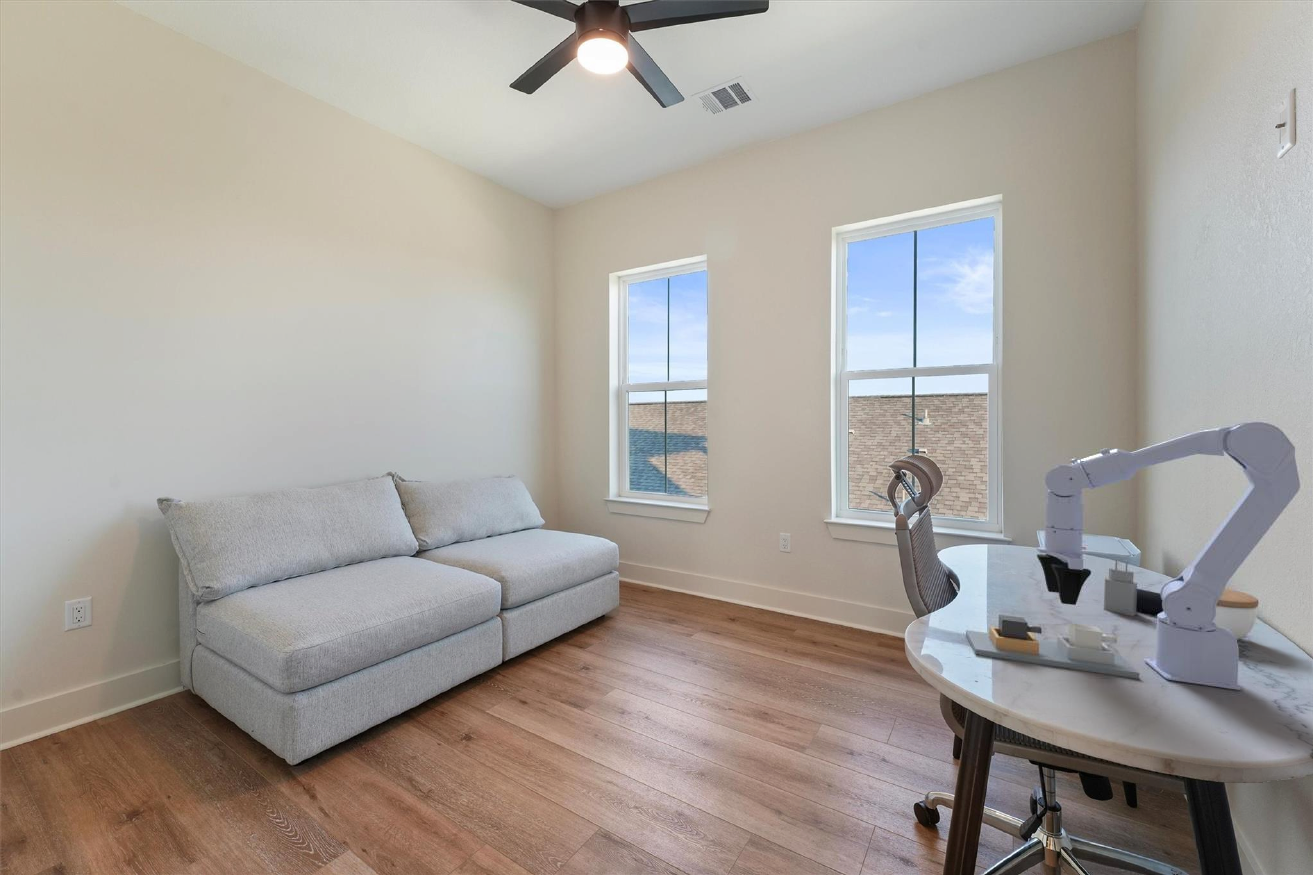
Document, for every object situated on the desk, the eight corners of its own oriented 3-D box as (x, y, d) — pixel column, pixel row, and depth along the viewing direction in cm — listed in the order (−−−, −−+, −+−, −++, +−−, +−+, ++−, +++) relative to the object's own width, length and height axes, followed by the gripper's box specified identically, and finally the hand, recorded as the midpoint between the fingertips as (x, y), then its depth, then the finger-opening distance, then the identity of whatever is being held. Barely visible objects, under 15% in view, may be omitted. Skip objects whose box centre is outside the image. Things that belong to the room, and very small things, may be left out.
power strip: (1113, 655, 99) (1114, 623, 99) (1139, 678, 90) (1140, 643, 90) (965, 634, 108) (966, 605, 108) (975, 654, 99) (976, 622, 98)
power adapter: (1132, 616, 121) (1134, 563, 120) (1102, 609, 125) (1104, 558, 125) (1137, 613, 122) (1139, 561, 122) (1107, 606, 127) (1108, 556, 127)
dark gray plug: (1037, 645, 101) (1038, 619, 100) (1042, 652, 98) (1043, 624, 98) (998, 640, 103) (998, 614, 103) (1001, 646, 100) (1002, 619, 100)
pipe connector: (1143, 580, 131) (1231, 597, 119) (1143, 601, 132) (1230, 621, 119) (1125, 588, 125) (1216, 607, 113) (1124, 610, 126) (1215, 632, 113)
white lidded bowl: (1246, 653, 101) (1249, 595, 100) (1158, 631, 112) (1160, 578, 111) (1264, 640, 107) (1266, 586, 107) (1179, 620, 118) (1181, 571, 118)
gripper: (1028, 519, 111) (1026, 584, 111) (1050, 532, 97) (1048, 606, 98) (1069, 522, 108) (1067, 589, 108) (1098, 535, 95) (1095, 611, 95)
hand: (1061, 597), depth 103 cm, fingers open, 7 cm apart
